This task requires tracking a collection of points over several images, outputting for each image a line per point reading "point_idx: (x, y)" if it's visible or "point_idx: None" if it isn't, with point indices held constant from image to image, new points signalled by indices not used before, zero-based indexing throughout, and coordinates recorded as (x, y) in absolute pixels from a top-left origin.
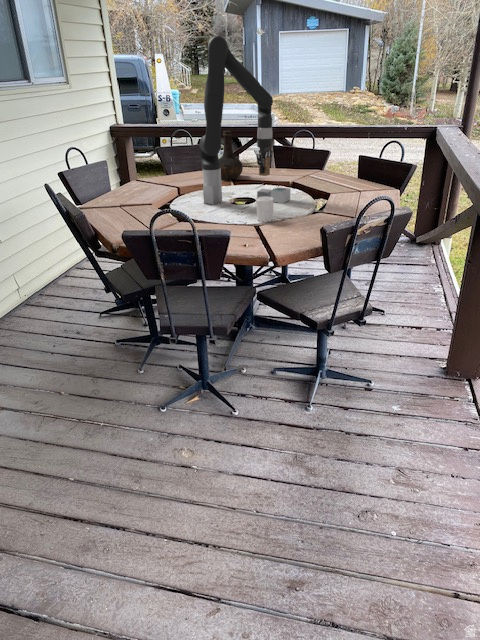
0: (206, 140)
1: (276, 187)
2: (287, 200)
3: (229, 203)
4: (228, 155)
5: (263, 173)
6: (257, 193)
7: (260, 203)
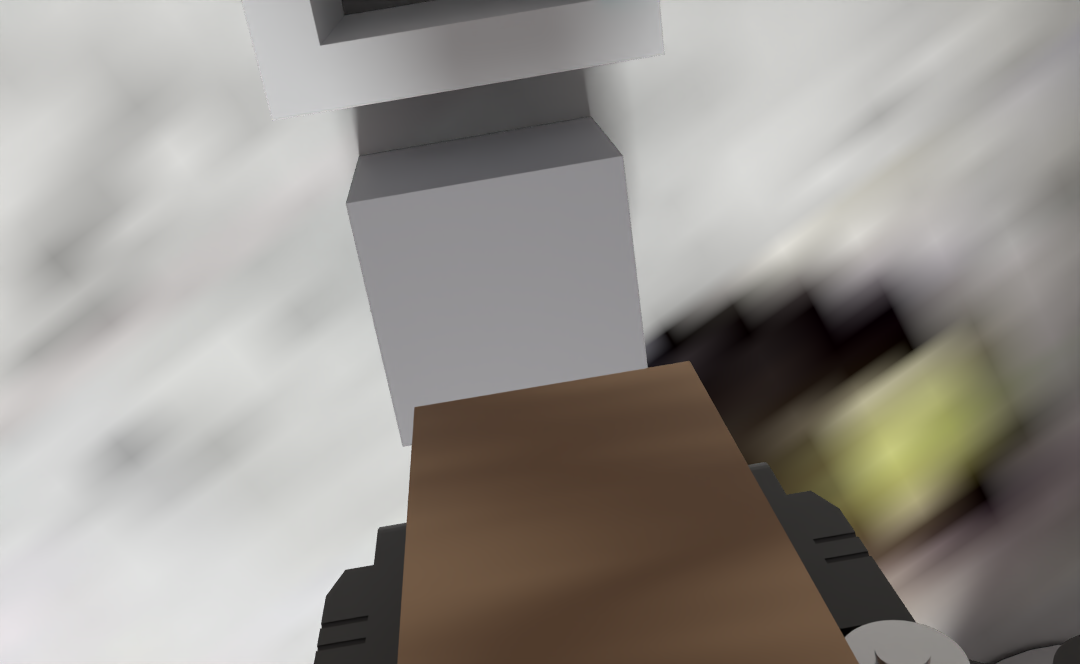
0: None
1: (326, 103)
2: None
3: (998, 550)
4: None
5: (764, 467)
6: None
7: None
